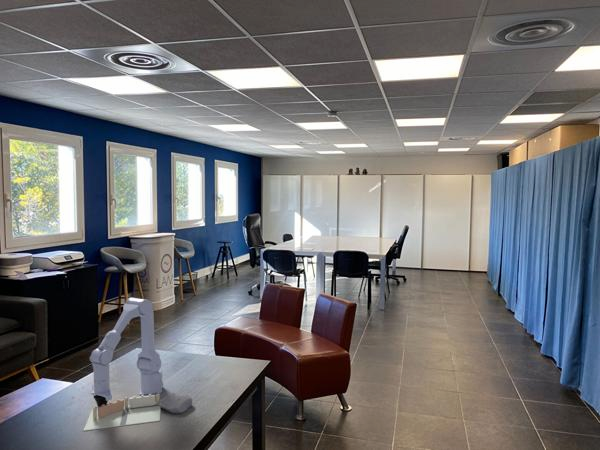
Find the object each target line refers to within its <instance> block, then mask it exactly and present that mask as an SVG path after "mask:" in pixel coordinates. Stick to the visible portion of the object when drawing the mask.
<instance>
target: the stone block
mask: <svg viewBox="0 0 600 450" xmlns="http://www.w3.org/2000/svg"><path fill="white" fill-rule="evenodd" d="M192 405H193V398H192V396H190V395H189V394H177V393H175V392H172V393H170V394H168V395H165V396H164V397H162V398H160V403H159V406H160V407H161V409H163V410H166V411H167V412H170V413H172V414H181V413H184V412H186V411H187V410H188V409H189V408H191V406H192Z"/></svg>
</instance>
